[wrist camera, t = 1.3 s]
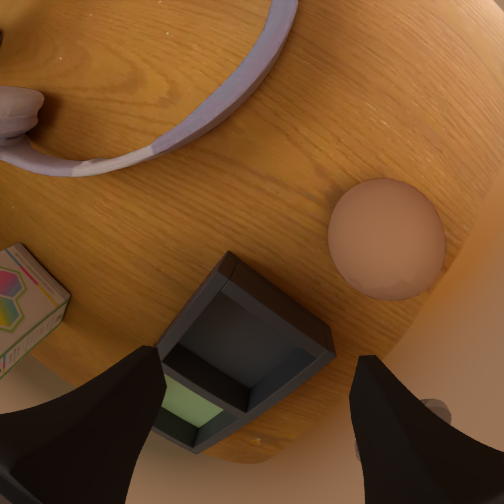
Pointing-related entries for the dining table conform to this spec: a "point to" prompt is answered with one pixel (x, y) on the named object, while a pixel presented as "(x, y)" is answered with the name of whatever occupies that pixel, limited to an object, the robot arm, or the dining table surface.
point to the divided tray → (234, 355)
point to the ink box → (26, 305)
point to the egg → (387, 239)
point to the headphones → (195, 125)
